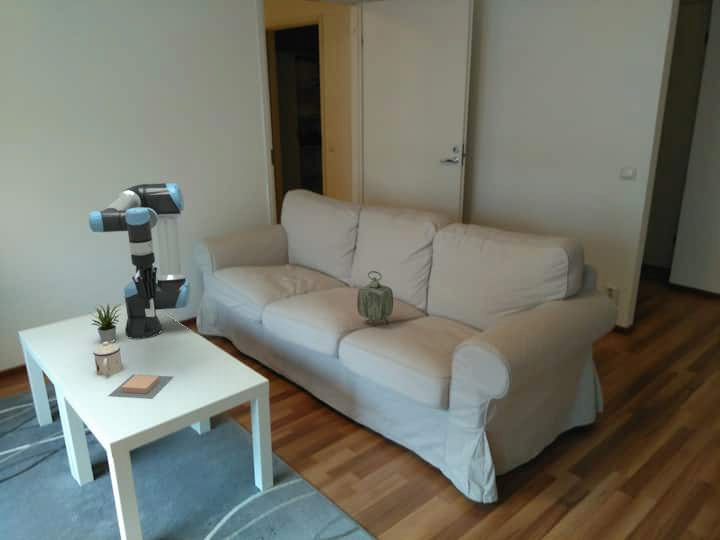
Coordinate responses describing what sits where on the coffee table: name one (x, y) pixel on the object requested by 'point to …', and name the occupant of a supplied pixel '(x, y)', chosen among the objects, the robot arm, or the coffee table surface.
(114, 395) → the mat
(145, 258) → the robot arm
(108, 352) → the teacup with lid
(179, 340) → the coffee table surface
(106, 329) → the house plant
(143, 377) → the tile
